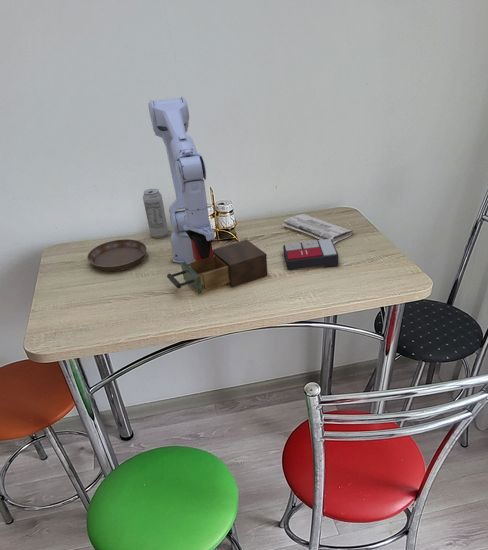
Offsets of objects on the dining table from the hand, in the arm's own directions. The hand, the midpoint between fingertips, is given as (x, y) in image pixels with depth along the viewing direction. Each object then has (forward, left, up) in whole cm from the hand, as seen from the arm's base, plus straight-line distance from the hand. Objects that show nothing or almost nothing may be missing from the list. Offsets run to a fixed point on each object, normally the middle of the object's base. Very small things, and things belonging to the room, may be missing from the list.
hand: (202, 256), depth 129 cm
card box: (0, 0, 0) cm, 1 cm away
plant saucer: (-34, +6, -10) cm, 35 cm away
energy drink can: (-32, +26, -10) cm, 42 cm away
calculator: (+22, +24, -10) cm, 34 cm away
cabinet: (+6, +10, -9) cm, 15 cm away
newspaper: (+18, +44, -10) cm, 49 cm away
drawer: (-2, -1, -8) cm, 9 cm away
